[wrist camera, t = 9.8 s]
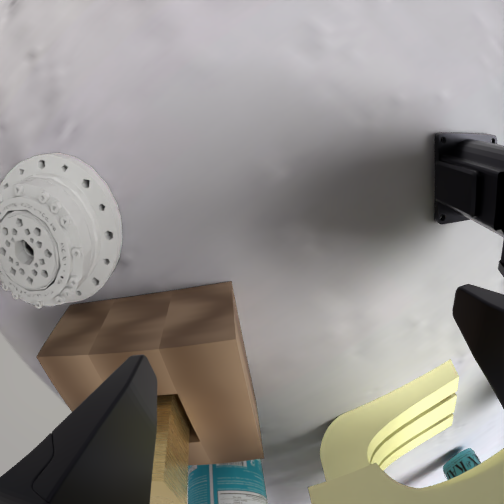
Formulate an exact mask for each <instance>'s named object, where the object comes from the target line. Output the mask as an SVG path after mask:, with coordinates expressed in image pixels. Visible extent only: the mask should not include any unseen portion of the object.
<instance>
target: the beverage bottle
mask: <svg viewBox="0 0 504 504" xmlns="http://www.w3.org/2000/svg"><path fill="white" fill-rule="evenodd" d="M479 464H481V462H480V461H479V458H478V456H477V455H475V451H474V450H472V449H471V448H468V449H466V450H464V451H462V452H460V453H458V454H457V455H455V456H454V457H453V458H451V459H450V460H449V461H448V462H447V463H446V464H445V465H444V466H443V471H444V475H446V476H445V477H447V478H446V479H448V480H450V479H452V478H454V477H456V476H459V475H461V474H463V473H465V472H466V471H468V470H470V469H472V468H474V467H476V466H477V465H479Z"/></svg>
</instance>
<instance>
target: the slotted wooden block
mask: <svg viewBox="0 0 504 504" xmlns="http://www.w3.org/2000/svg"><path fill="white" fill-rule="evenodd" d="M141 354H143V355H145V356H146V357H147V358H148V360H149V362H150V364H151V367H152V369H153V371H154V373H155V375H156V377H157V395H168V394H178V396H179V398H180V400H181V403H182V405H183V407H184V409H185V411H186V413H187V415H188V418H189V420H190V433H189V455H188V466H190V465H208V464H220V463H231V462H240V461H248V460H256V459H263V458H264V454H263V447H262V440H261V433H260V426H259V419H258V412H257V405H256V399H255V394H254V390H253V385H252V380H251V376H250V371H249V366H248V361H247V357H246V352H245V347H244V342H243V337H242V332H241V327H240V322H239V317H238V312H237V307H236V302H235V297H234V292H233V287H232V281H230V282H223V283H217V284H211V285H205V286H198V287H192V288H185V289H179V290H172V291H166V292H159V293H152V294H145V295H138V296H131V297H124V298H117V299H110V300H103V301H95V302H88V303H80V304H73V305H70V306H69V307H68V309H67V310H66V312H65V313H64V315H63V316H62V318H61V319H60V321H59V322H58V324H57V325H56V327H55V328H54V330H53V331H52V333H51V334H50V336H49V337H48V339H47V341H46V342H45V344H44V345H43V347H42V349H41V350H40V352H39V353H38V355H37V359H38V360H39V362H40V364H41V366H42V367H43V369H44V370H45V372H46V374H47V375H48V377H49V378H50V380H51V382H52V383H53V385H54V386H55V388H56V389H57V391H58V392H59V394H60V395H61V397H62V398H63V400H64V401H65V402H66V404H67V405H68V407H69V408H70V409H71V411H72V412H73V411H74V410H75V409H76V408H77V407H78V406H79V405H80V404H81V403H82V402H83V401H84V400H85V399H86V398H87V397H88V396H89V395H90V394H91V393H92V392H93V391H94V390H96V389H97V388H98V387H99V386H100V385H101V384H102V383H103V382H104V381H105V380H106V379H107V378H108V377H109V376H110V375H111V374H112V373H113V372H114V371H115V370H116V369H117V368H118V367H119V366H120V365H121V364H122V363H123V362H125V361H126V360H127V359H128V358H129V357H130V356H132V355H141Z"/></svg>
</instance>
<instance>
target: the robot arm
mask: <svg viewBox="0 0 504 504" xmlns="http://www.w3.org/2000/svg"><path fill="white" fill-rule="evenodd" d="M441 138H443V141H442V143H441ZM491 140H492V142H491ZM441 215H442V218H441V219H440V216H441ZM434 218H435V221H436V222H437V223H439V224H447V223H453V222H459V221H464V220H470V219H471V220H473V221H475V222H476V223H478V224H480V225H482V226H484V227H486V228H488V229H490V230H491V231H493V232H495V233H497V234H499V235H500V236H502V237H504V146H502V145H498V144H497V138H496V136H495V135H491V134H476V133H446V132H439V133H437V134H436V136H435V215H434ZM498 270H499V271H500V273H501V274H502V275H503V277H504V240H503V248H502V255H501V260H500V261H499V266H498ZM453 317H454V319H455V321H456V323H457V325H458V327H459V329H460V331H461V333H462V335H463V337H464V339H465V341H466V343H467V345H468V347H469V349H470V351H471V353H472V354H473V356H474V358H475V360H476V362H477V363H478V365H479V366H480V368H481V370H482V371H483V373H484V375H485V376H486V378H487V380H488V382H489V383H490V385H491V387H492V389H493V390H494V392H495V394H496V396H497V398H498V399H499V401H500V403H501V405H502V407H503V409H504V295H503V294H500V293H497V292H493V291H490V290H487V289H484V288H480V287H477V286H474V285H470V284H466V285H463V286H460V287H458V288H457V290H456V293H455V299H454V305H453ZM156 433H157V377H156V375H155V373H154V371H153V369H152V367H151V364H150V362H149V360H148V358H147V357H146V356H145V355H143V354H141V355H132V356H130V357H129V358H128V359H127V360H126V361H125V362H123V363H122V364H121V365H120V366H119V367H118V368H117V369H116V370H115V371H114V372H113V373H112V374H111V375H110V376H109V377H108V378H107V379H106V380H105V381H104V382H103V383H102V384H101V385H100V386H99V387H98V388H97V389H96V390H94V391H93V392H92V393H91V394H90V395H89V396H88V397H87V398H86V399H85V400H84V401H83V402H82V403H81V404H80V405H79V406H78V407H77V408H76V409H75V410H74V411H73V412H72V413H71V414H70V415H69V416H68V417H67V418H66V419H65V420H64V421H63V422H61V424H60V425H58V426H57V427H56V428H55V429H54V431H53V432H52V433H51V434H49V435H48V436H47V437H46V438H45V439H44V440H43V441H42V442H41V443H40V444H39V445H38V446H37V447H36V448H35V449H33V451H31V452H30V453H29V454H28V455H27V456H26V457H24V458H23V459H22V460H21V461H20V462H18V463H17V464H16V465H15V466H14V467H12V468H11V469H10V470H9V471H7V472H6V473H5V474H4V475H2V476H1V477H0V504H150V494H151V483H152V472H153V461H154V452H155V443H156Z"/></svg>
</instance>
